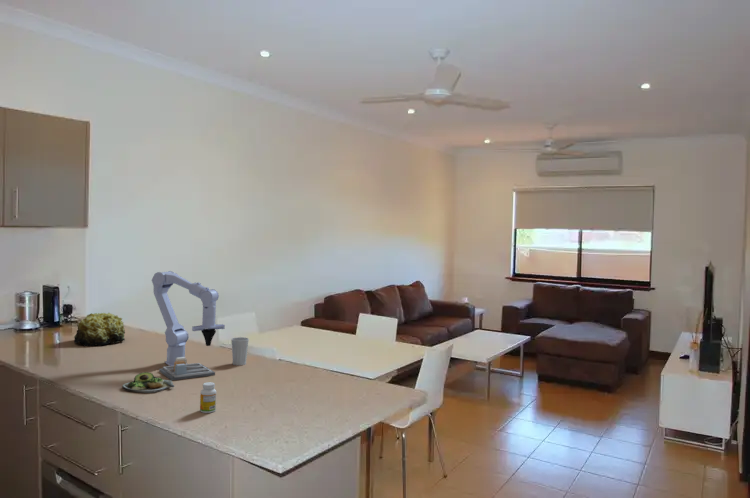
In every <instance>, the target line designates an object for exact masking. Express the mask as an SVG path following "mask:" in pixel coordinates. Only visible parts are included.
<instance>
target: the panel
mask: <svg viewBox="0 0 750 498" xmlns="http://www.w3.org/2000/svg"><path fill="white" fill-rule="evenodd" d="M186 366H187V373H186V374H182V375H175V372H174V366H169V365H166V366H163V367H162V368H158V369H159V371H158V372H159V373H160V374H162V375H163V376H164V377H166V378H167V380H170V381H172V382H173V381H179V380H185V379H187V380H188V379H194V378H202V377H211V376H215V375H216V372H215V371H213V370H212V369H210V368H209V367H207V366H205V365H204V364H202V363H200V362H197V363H196V362H195V363H187V365H186Z"/></svg>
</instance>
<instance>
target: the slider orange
mask: <svg viewBox="0 0 750 498" xmlns="http://www.w3.org/2000/svg"><path fill="white" fill-rule="evenodd" d="M176 364H186V363H185V361H183V360H180V361H175V362H174V372H175V366H176Z"/></svg>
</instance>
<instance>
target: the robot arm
mask: <svg viewBox="0 0 750 498" xmlns="http://www.w3.org/2000/svg"><path fill="white" fill-rule="evenodd" d="M151 283H152V285H153V295H154V298H155V300H156V303H157V305H158V306H157V307H159V311H160V313H161V316H162V318H163V321H164V324H165V326H166V329H165V331H164V335H165V342H166V344H167V348H166V360H164V363H165V364H166V365H167V366H174V362H175V360H176V358H178V357H185V358H186V345H187V342H188V340H189V337H190V336H189V333H188V331H187V330H186V329H185V327H184V325H183V324H181V323H179V321H178V318H177V315H176V313H175V309H174V308H173V307H174V306H173V305H172V302H171V299H170V298H169V295H168V291H169V289H170V288H171V287H172V286H173V284H175V285H178V286H179V287H182V288H184V289H186V290H188V292H189V294H191V295H192V296H194V297H196V298H198V299H200V301H201V302H202V323H201V325H200V324H199V325H194V326H192V328H191V331H192V332H199V331H201V333H202V336H203V338H204V341H205V346H207V347H210V346H211V345H212V341H213V338H214V336H215V334H216V332H217V331H216V330H225V326H226V325H225V324H223V323H222V324H216V312H217V310H216V309H217V301H218V300H219V297H220V295H219V292H218V291H217V290H216V289H213V288H212V289H210V287H208V286H204V285H202V283H201V282H199V281H198V282H197V281H196V282H191V281H189V280H188V279H186V278H185V277H182V276H180V275H179V274H178V273H177V272H174V271H171V270H169V271H157V272H155V273H154V275H153V277H152V279H151Z"/></svg>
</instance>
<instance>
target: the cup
mask: <svg viewBox="0 0 750 498" xmlns="http://www.w3.org/2000/svg"><path fill="white" fill-rule="evenodd" d="M249 340H250V339H249V338H248V337H241V336H239V337H236V336H235V337H232V338H231V350H232V351H231V352H232V354H231V355H232V365H233V366H244V365H247V356H248V347H249Z"/></svg>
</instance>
